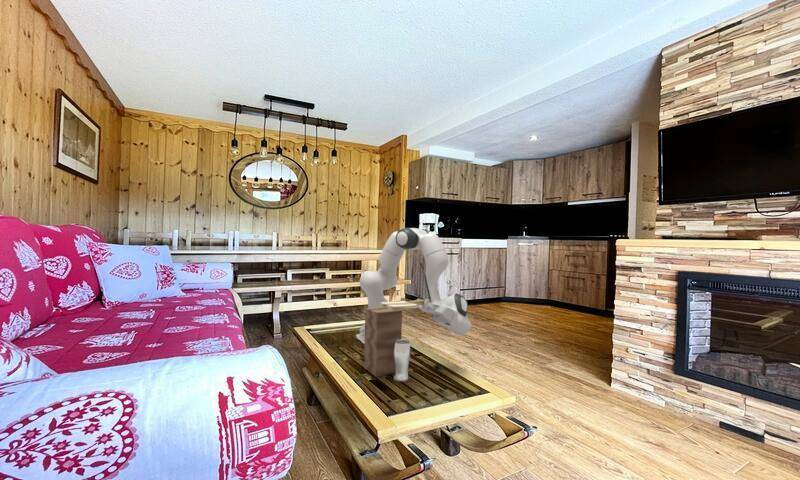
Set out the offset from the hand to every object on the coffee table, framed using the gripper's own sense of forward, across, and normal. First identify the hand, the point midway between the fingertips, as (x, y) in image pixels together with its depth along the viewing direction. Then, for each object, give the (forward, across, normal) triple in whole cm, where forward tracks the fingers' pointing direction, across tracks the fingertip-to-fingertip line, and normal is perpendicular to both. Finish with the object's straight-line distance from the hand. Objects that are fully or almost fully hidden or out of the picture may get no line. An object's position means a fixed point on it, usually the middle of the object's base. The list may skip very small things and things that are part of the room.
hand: (421, 300), depth 143 cm
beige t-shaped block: (+5, 0, +4) cm, 6 cm away
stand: (-6, -12, +32) cm, 35 cm away
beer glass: (-8, 0, +32) cm, 32 cm away
